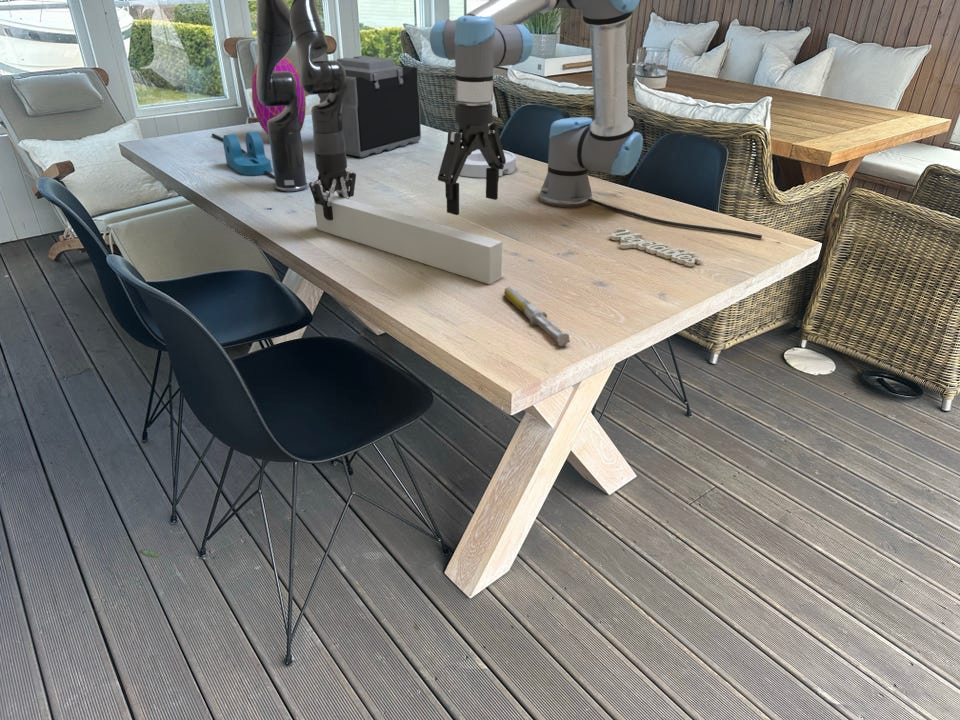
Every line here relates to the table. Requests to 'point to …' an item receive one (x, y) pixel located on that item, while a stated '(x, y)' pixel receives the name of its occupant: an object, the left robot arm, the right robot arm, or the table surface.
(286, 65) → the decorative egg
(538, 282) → the table surface
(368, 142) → the electronic device
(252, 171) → the camera mount
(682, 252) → the decorative sign
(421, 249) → the bar
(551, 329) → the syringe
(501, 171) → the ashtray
